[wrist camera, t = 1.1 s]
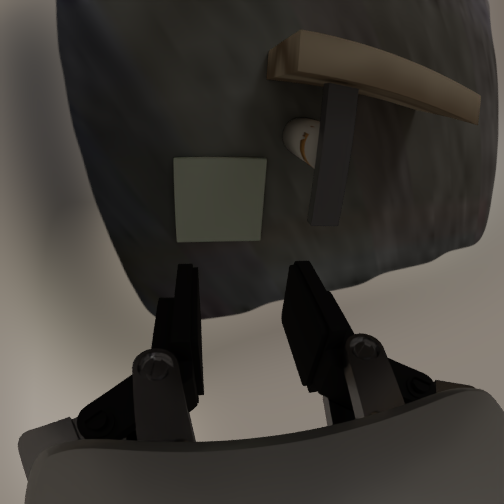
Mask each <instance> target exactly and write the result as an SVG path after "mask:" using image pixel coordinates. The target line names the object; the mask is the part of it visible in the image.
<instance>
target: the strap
mask: <svg viewBox="0 0 504 504" xmlns="http://www.w3.org/2000/svg"><path fill="white" fill-rule="evenodd" d="M358 92H359V89H357V88H353V87H348V86H343V85H339V84H333V83H324V88H323V99H322V109H321V119H320V128H319V137H318V145H317V154H316V162H315V169H314V177H313V184H312V192H311V199H310V205H309V212H308V219H307V221H308V222H309V224H310V225H311V226H338V224H339V219H340V214H341V209H342V204H343V198H344V193H345V187H346V181H347V175H348V169H349V163H350V156H351V149H352V142H353V135H354V127H355V119H356V111H357V102H358Z"/></svg>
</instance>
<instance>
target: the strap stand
mask: <svg viewBox="0 0 504 504" xmlns="http://www.w3.org/2000/svg"><path fill="white" fill-rule="evenodd" d="M267 80H276V81H285V82H293V83H301V84H308V85H314V86H320V87H324V83H333V84H339V85H343V86H348V87H353V88H357V89H359V92H358V94H360V95H365V96H369V97H373V98H377V99H381V100H384V101H388V102H391V103H395V104H398V105H402V106H405V107H408V108H411V109H415V110H419V111H424V112H428V113H433V114H437V115H442V116H446V117H450V118H454V119H458V120H461V121H465V122H468V123H472V124H475V125H478V120H479V111H480V102H481V96H480V95H479V94H477V93H475V92H473V91H472V90H470V89H468V88H466V87H464V86H463V85H461V84H459V83H457V82H455V81H453V80H451V79H449V78H447V77H445V76H443V75H441V74H439V73H437V72H435V71H433V70H431V69H428V68H426V67H424V66H422V65H419V64H417V63H414V62H412V61H410V60H407V59H405V58H402V57H399V56H397V55H394V54H391V53H388V52H386V51H383V50H380V49H377V48H374V47H371V46H367V45H364V44H361V43H357V42H354V41H350V40H346V39H343V38H339V37H335V36H330V35H326V34H321V33H317V32H312V31H307V30H299V31H298V32H296V33H295V34H293V35H291V36H290V37H288V38H287V39H285V40H284V41H283V42H281V43H280V44H278V45H277V46H275V47H274V48H272V49H271V50H270V51H269V53H268V67H267Z"/></svg>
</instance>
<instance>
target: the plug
mask: <svg viewBox="0 0 504 504" xmlns="http://www.w3.org/2000/svg"><path fill="white" fill-rule="evenodd" d="M319 128H320V121H317V120H313V119H309V118H304V117H298V118H295V119H293V120H291V121H290V122H288V123H287V125H286V126H285V128H284V130H283V135H282V138H283V143H284V145H285V147H286V148H287V149H288V150H289V151H290V152H291V153H293V154H294V155H296V156H297V157H299V158H300V159H301V160H303V161H304V162H306V163H307V164H308V165H310V166H311V167H313V168H314V169H315V162H316V154H317V145H318V137H319Z"/></svg>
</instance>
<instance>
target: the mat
mask: <svg viewBox="0 0 504 504" xmlns="http://www.w3.org/2000/svg"><path fill="white" fill-rule="evenodd" d="M266 165H267V159H266V158H251V157H177V158H174V195H175V218H176V235H177V242H212V241H260V237H261V225H262V214H263V202H264V189H265V177H266Z"/></svg>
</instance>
